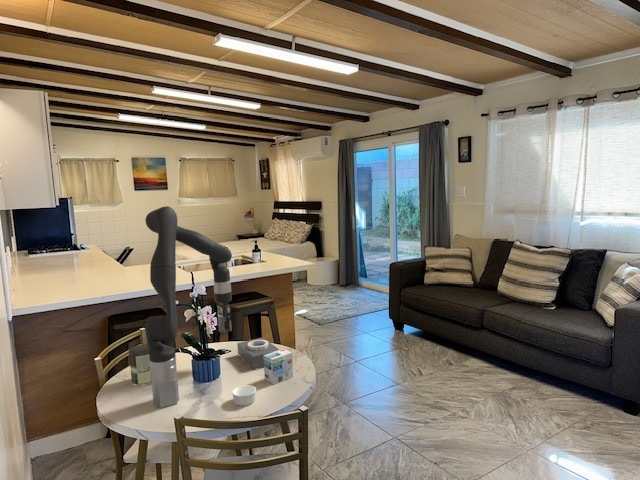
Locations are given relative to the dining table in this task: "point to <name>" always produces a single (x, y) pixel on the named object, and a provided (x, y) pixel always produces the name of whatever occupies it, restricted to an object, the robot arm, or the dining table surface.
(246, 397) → the ramekin
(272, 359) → the light bulb box
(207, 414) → the dining table surface
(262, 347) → the camera body
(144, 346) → the coffee can
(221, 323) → the lens
